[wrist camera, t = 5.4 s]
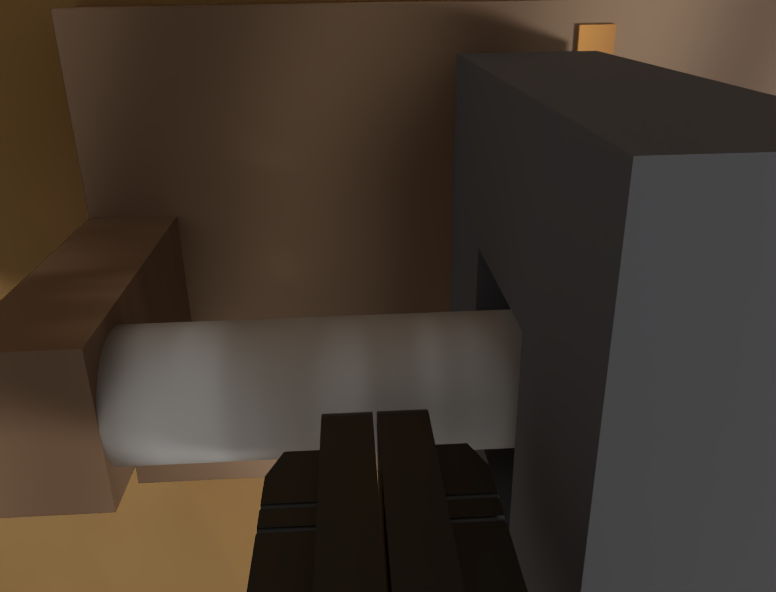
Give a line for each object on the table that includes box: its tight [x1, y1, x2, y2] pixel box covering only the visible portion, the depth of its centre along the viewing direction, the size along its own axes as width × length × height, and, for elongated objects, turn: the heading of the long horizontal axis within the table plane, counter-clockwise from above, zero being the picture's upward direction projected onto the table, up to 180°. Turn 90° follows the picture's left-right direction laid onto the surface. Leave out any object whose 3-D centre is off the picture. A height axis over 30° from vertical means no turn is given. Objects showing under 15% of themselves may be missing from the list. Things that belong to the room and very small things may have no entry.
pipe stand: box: [0, 0, 776, 518], centre depth 15 cm, size 17×12×8 cm
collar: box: [451, 51, 776, 592], centre depth 13 cm, size 3×10×10 cm, turn 1°
